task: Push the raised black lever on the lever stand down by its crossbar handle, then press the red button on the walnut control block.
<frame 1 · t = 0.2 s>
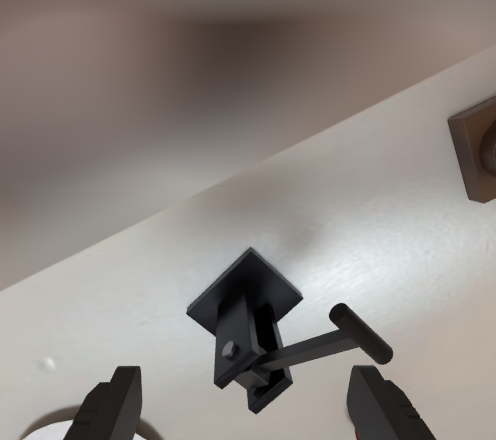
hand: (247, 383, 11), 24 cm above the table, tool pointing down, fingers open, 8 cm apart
black lever: (295, 354, 23), point 13 cm above the table, hinge at 28.0°
control block: (491, 145, 34), on the table
lever stand: (244, 301, 37), on the table
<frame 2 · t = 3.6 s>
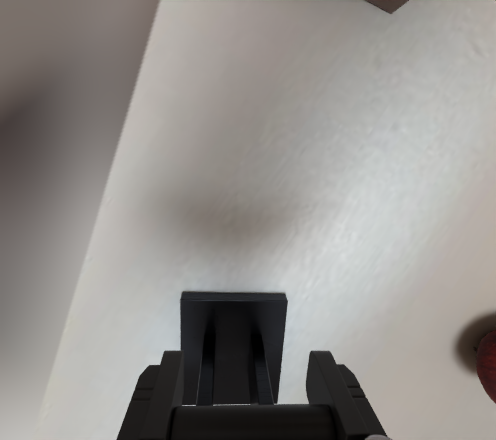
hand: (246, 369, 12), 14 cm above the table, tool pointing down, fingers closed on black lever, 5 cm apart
apple: (487, 344, 30), on the table
lever stand: (232, 346, 28), on the table
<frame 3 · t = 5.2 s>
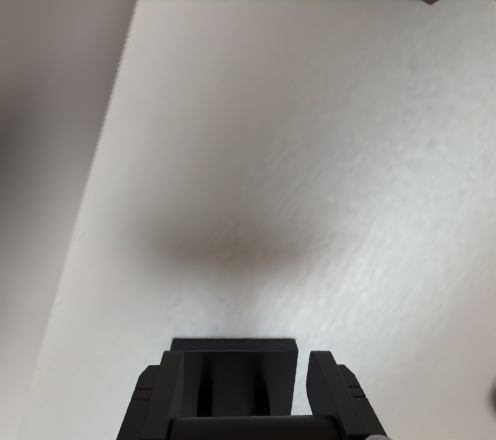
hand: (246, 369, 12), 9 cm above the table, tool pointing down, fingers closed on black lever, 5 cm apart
lever stand: (231, 398, 23), on the table
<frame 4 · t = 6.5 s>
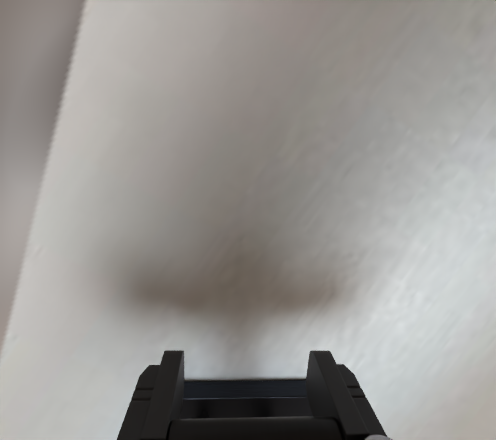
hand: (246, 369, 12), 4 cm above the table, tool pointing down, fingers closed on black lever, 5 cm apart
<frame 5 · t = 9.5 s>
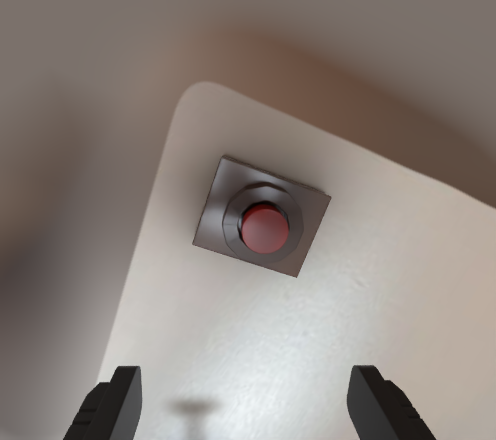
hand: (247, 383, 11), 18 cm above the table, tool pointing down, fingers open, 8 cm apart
button: (264, 228, 24), point 5 cm above the table, slide at 0.2 cm
control block: (259, 215, 28), on the table
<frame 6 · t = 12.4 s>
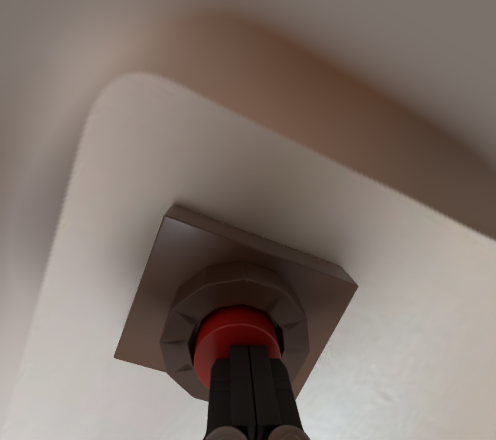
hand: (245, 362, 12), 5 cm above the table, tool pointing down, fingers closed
button: (237, 347, 13), point 4 cm above the table, slide at -0.4 cm, touching gripper
control block: (234, 299, 17), on the table
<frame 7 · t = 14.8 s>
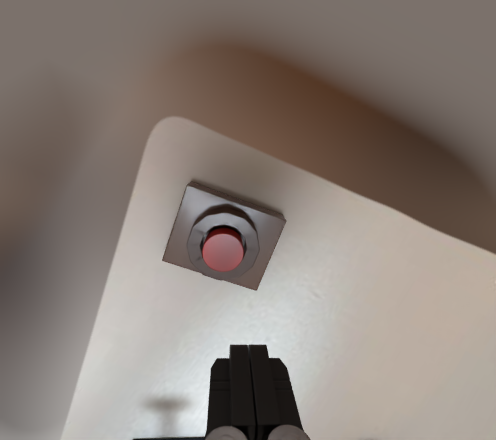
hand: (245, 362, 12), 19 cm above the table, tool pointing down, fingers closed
button: (223, 249, 27), point 5 cm above the table, slide at 0.1 cm
control block: (224, 233, 31), on the table
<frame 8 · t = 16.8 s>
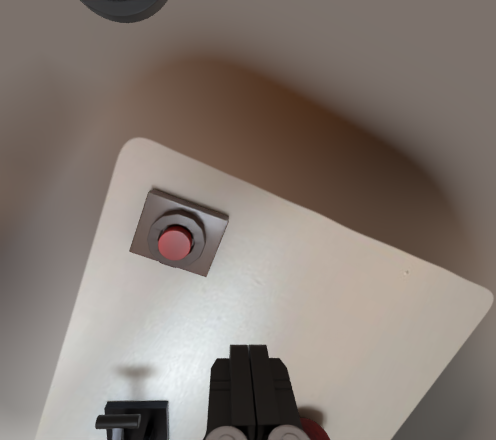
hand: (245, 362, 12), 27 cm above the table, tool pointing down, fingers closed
button: (175, 243, 34), point 5 cm above the table, slide at 0.1 cm
apple: (298, 424, 49), on the table
control block: (181, 231, 39), on the table
lever stand: (139, 429, 47), on the table
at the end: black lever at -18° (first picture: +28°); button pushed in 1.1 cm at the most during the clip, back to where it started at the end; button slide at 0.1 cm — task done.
